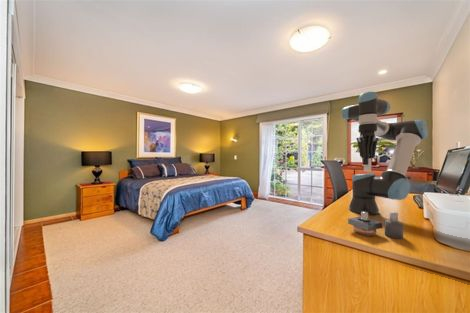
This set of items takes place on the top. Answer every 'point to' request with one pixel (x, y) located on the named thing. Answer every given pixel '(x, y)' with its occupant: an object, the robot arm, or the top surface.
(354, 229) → the hub
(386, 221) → the stand
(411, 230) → the top surface
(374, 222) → the hollow square frame
